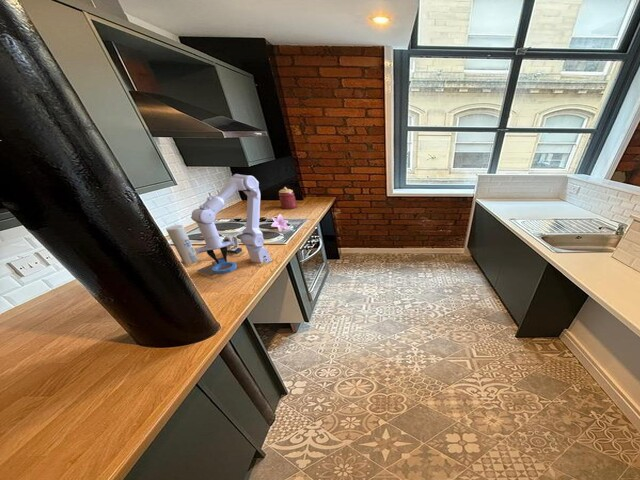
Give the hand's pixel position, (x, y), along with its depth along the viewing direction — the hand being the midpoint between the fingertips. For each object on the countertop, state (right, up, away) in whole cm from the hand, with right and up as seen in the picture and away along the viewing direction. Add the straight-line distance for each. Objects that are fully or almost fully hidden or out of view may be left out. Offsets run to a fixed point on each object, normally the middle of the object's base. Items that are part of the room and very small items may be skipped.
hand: (222, 263), depth 116 cm
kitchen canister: (-21, +55, +107) cm, 122 cm away
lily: (-3, +26, +59) cm, 65 cm away
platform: (-9, -3, +9) cm, 13 cm away
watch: (-11, +6, +24) cm, 27 cm away
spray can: (-27, 0, +14) cm, 30 cm away
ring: (+3, -2, -2) cm, 4 cm away
